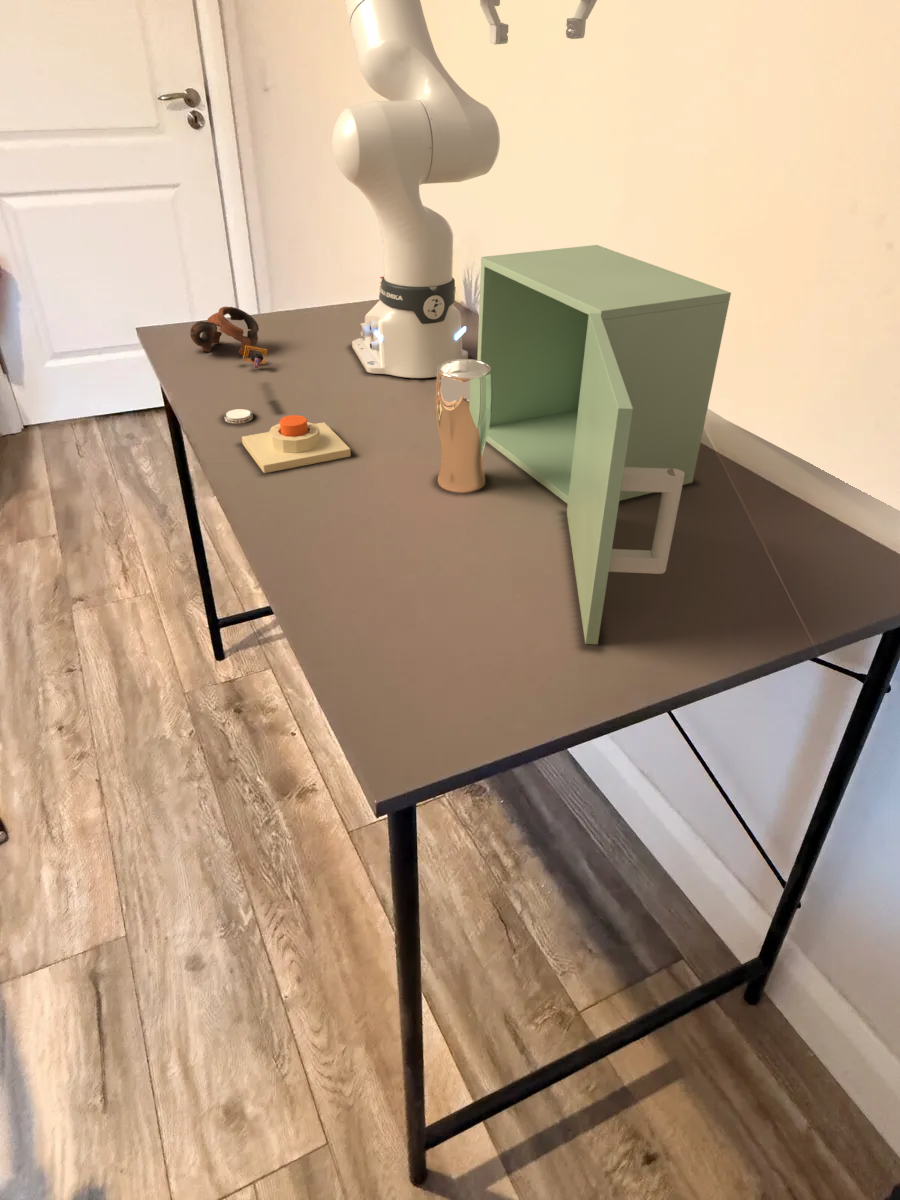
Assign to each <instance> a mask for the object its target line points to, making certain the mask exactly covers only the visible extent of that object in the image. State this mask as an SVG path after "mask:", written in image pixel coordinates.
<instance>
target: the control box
mask: <svg viewBox="0 0 900 1200" xmlns="http://www.w3.org/2000/svg"><path fill="white" fill-rule="evenodd" d="M307 426H308V433H307V434H305V435H302V436H297V437H287V436H284V435H282V434H281V429H280V422H278V423H277V424H274V425H272V426H270V427H271V428H270V429H269V431H267V432H266V431H265V432H260V433H254V434H249V435H243V436H241V443H242V445H243V447H244V448H245V450H246V451H247V452H248V453H249V455H250V456H251V458H252V459H253V461H254V462H255V463H256V465H258V467H259V468H260V470H261V471H262V473H264V474H267V473H272V472H278V471H283V470H288V469H293V468H298V467H303V466H308V465H313V464H319V463H323V462H324V463H325V462H328V461H335V460H338V459H339V460H341V459H344V458H349V457H350V458H351V455H352V453H351V448H350V447H349V446H348V445H347V444H346V443H345V442H344V441H343V440H342V439H341V438H340V437H339V436H338V435H337V434H336V433H335V432H334V430H332V428H331V427H330V426H329V425H328V424H327V423H326V422H324V421H323V422H319V423H318V422H317V423H312V422H309V421H307Z"/></svg>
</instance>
